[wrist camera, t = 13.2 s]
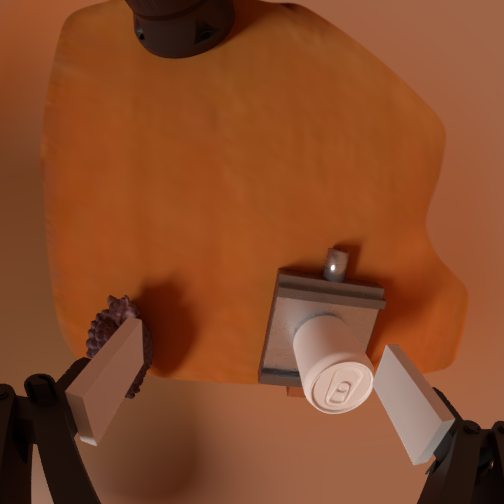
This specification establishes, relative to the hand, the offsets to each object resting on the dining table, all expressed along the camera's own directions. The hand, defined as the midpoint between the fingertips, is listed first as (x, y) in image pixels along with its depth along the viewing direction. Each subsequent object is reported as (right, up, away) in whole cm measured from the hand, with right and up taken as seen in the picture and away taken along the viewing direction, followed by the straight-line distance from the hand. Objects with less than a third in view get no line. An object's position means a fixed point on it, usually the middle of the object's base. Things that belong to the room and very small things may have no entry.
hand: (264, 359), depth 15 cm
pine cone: (-20, -8, +29) cm, 36 cm away
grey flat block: (+9, -6, +28) cm, 30 cm away
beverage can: (+9, -7, +25) cm, 28 cm away
